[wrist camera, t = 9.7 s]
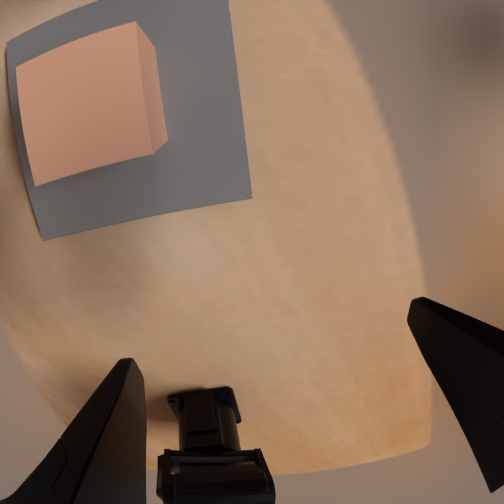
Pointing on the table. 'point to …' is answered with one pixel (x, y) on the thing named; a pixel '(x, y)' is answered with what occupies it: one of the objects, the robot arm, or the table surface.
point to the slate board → (175, 113)
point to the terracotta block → (91, 103)
